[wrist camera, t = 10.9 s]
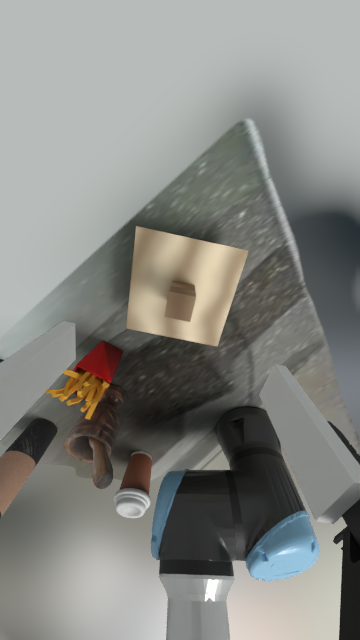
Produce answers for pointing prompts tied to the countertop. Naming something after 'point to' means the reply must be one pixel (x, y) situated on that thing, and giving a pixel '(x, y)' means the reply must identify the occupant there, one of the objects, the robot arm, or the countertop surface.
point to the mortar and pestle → (98, 435)
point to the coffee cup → (135, 486)
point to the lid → (182, 286)
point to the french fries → (90, 377)
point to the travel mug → (23, 459)
